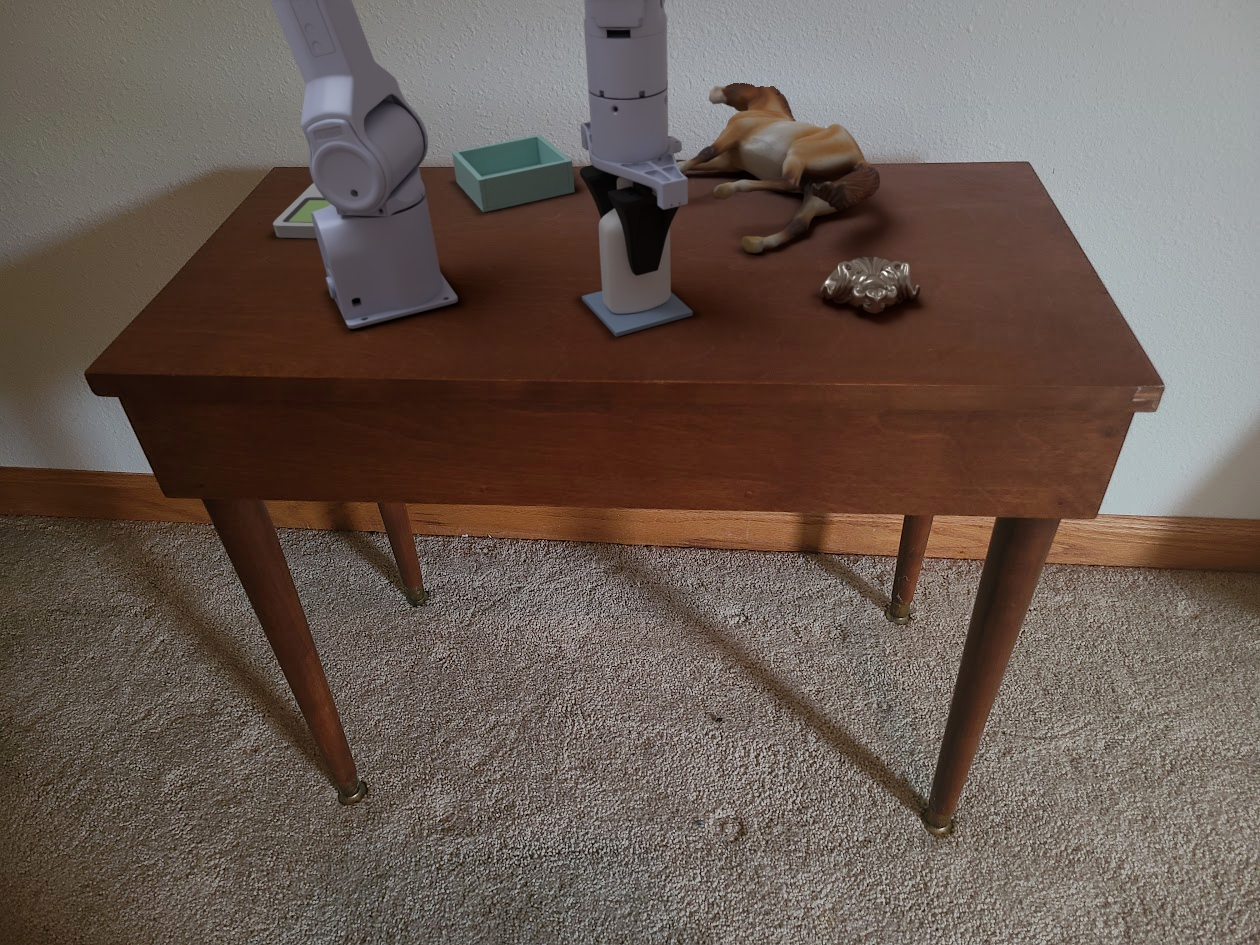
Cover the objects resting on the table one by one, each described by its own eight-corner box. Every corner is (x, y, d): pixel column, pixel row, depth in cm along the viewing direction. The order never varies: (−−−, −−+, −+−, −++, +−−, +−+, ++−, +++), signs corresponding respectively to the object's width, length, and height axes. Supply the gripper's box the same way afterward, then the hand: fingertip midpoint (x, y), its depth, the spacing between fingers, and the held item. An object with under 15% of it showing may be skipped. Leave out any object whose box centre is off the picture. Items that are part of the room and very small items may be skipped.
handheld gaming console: (414, 165, 99) (366, 224, 87) (417, 179, 100) (369, 239, 88) (327, 164, 100) (269, 222, 89) (331, 178, 101) (273, 237, 90)
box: (483, 212, 92) (478, 180, 90) (456, 182, 99) (451, 151, 97) (574, 192, 96) (572, 160, 93) (543, 164, 102) (540, 134, 100)
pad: (616, 337, 73) (616, 332, 72) (581, 299, 78) (581, 295, 77) (692, 315, 75) (692, 311, 74) (654, 280, 80) (654, 276, 79)
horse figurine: (598, 120, 95) (752, 63, 102) (609, 190, 100) (755, 131, 107) (793, 205, 74) (971, 125, 81) (795, 288, 79) (962, 207, 86)
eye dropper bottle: (606, 289, 78) (598, 151, 70) (671, 290, 77) (670, 150, 70) (600, 315, 75) (591, 172, 67) (668, 316, 74) (667, 172, 66)
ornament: (822, 325, 73) (827, 284, 70) (815, 284, 78) (819, 245, 76) (924, 325, 72) (932, 284, 70) (910, 284, 77) (917, 244, 75)
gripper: (727, 105, 61) (722, 286, 70) (634, 54, 71) (639, 218, 80) (633, 124, 59) (640, 309, 67) (550, 69, 69) (566, 236, 78)
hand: (634, 261), depth 73 cm, fingers closed on eye dropper bottle, 3 cm apart
